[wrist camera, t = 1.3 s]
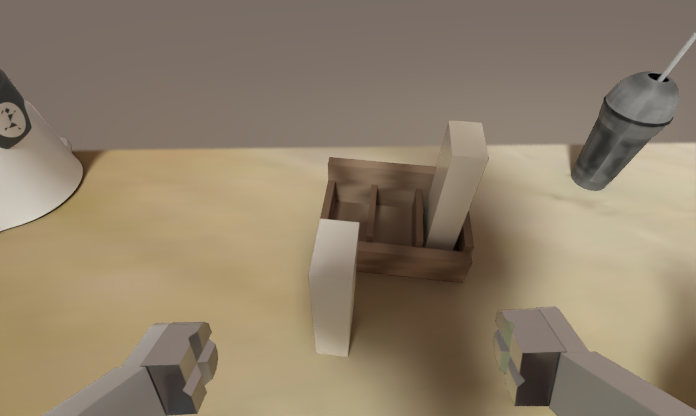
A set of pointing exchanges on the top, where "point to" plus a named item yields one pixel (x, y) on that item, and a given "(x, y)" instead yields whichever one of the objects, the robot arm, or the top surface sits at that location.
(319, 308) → the clay strip
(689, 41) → the beverage cup
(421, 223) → the wooden divided tray
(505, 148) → the top surface
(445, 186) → the clay strip
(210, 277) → the top surface
